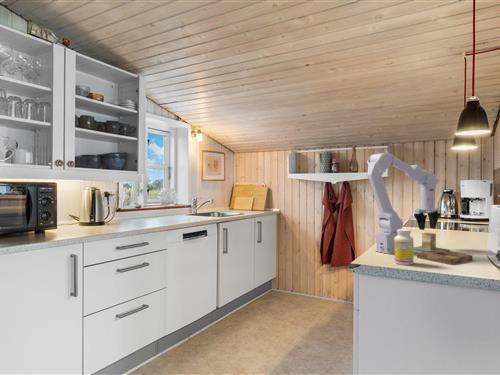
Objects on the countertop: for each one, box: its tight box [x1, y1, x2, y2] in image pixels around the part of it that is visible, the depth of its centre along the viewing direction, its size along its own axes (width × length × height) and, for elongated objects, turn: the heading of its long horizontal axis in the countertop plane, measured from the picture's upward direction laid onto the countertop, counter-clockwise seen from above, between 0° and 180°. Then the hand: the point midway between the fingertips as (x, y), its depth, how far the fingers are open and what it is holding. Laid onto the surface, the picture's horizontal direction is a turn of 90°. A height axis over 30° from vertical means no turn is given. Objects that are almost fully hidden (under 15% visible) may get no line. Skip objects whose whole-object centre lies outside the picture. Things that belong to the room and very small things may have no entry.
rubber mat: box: [413, 245, 451, 252], centre depth 159 cm, size 12×12×1 cm
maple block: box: [421, 232, 437, 250], centre depth 159 cm, size 4×4×7 cm
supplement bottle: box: [394, 228, 415, 266], centre depth 133 cm, size 7×7×13 cm
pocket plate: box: [416, 250, 473, 265], centre depth 140 cm, size 14×14×2 cm
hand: (427, 229), depth 160 cm, fingers open, 7 cm apart
